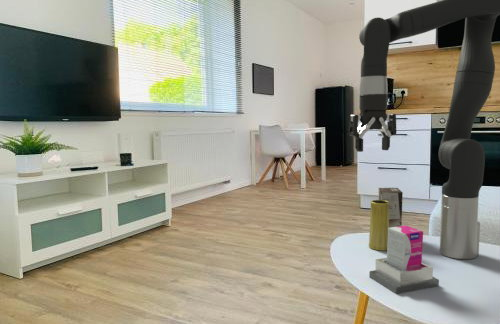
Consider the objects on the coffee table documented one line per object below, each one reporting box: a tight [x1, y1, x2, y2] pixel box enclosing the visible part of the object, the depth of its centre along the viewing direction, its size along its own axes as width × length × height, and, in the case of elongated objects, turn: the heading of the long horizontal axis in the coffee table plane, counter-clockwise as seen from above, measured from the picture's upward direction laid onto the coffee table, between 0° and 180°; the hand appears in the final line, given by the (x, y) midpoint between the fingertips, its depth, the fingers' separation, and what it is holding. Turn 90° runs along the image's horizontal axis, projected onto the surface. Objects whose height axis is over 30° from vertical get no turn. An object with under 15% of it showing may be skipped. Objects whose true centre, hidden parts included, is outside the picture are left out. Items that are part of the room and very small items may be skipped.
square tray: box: [368, 257, 440, 295], centre depth 94 cm, size 12×10×4 cm
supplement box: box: [386, 224, 424, 271], centre depth 94 cm, size 6×6×12 cm
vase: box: [368, 199, 389, 251], centre depth 118 cm, size 6×6×14 cm
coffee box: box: [377, 187, 404, 228], centre depth 127 cm, size 9×6×16 cm
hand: (372, 150), depth 111 cm, fingers open, 8 cm apart
